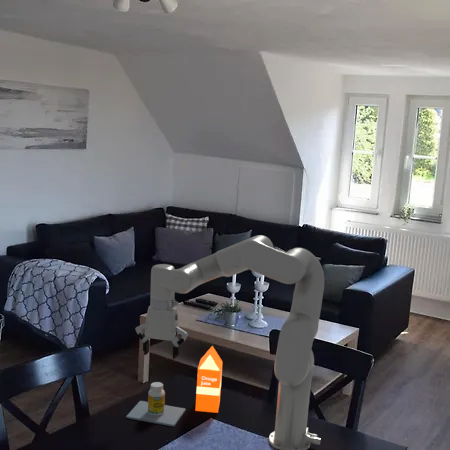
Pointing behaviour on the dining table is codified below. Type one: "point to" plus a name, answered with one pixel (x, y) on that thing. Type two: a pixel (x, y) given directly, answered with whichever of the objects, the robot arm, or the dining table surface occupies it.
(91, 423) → the dining table surface
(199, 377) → the orange juice
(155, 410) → the supplement bottle
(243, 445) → the dining table surface
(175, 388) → the dining table surface
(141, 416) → the felt mat
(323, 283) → the robot arm
